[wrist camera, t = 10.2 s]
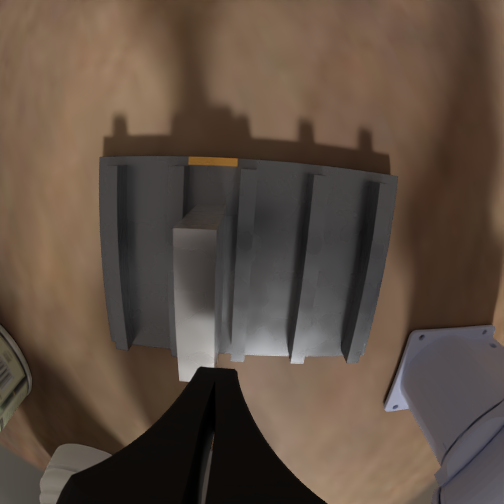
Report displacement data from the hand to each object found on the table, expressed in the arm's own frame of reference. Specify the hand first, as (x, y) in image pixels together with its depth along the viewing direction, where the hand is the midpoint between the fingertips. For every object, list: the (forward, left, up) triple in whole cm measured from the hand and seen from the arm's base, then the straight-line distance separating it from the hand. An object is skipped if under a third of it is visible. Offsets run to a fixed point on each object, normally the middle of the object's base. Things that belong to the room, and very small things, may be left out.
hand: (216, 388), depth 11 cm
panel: (+1, -2, -8) cm, 9 cm away
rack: (-1, -2, -9) cm, 10 cm away
